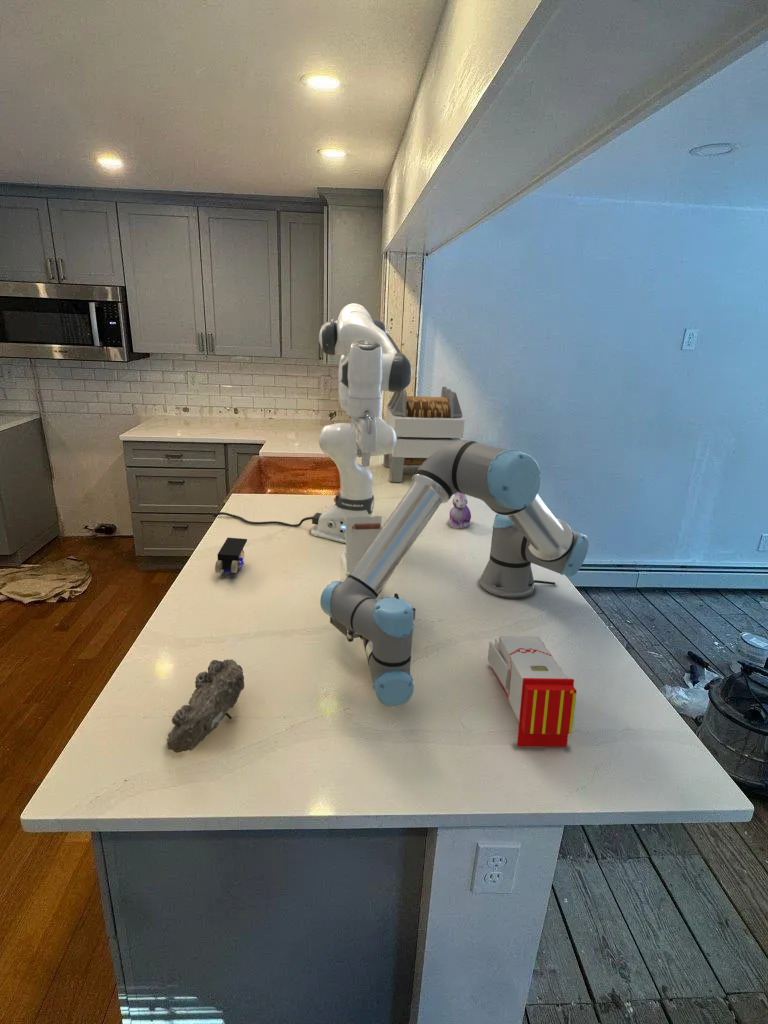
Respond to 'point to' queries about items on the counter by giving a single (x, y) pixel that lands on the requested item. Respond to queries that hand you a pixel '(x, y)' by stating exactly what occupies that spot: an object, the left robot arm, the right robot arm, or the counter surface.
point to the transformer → (421, 428)
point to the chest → (345, 574)
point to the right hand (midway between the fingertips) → (368, 599)
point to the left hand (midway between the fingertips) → (362, 461)
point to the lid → (359, 537)
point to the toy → (534, 690)
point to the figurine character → (230, 556)
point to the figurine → (459, 512)
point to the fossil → (206, 705)
